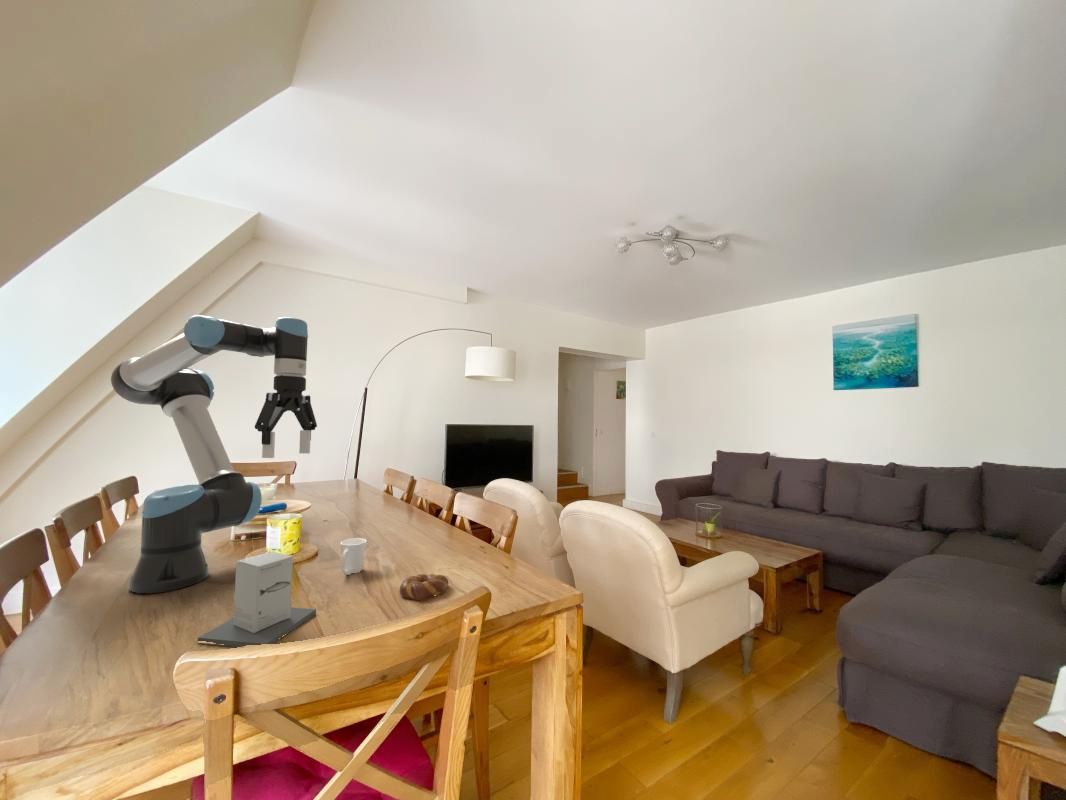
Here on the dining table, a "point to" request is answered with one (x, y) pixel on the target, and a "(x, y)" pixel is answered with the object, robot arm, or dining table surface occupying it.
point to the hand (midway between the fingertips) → (287, 455)
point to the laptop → (268, 635)
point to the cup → (352, 555)
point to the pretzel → (423, 586)
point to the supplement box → (262, 591)
